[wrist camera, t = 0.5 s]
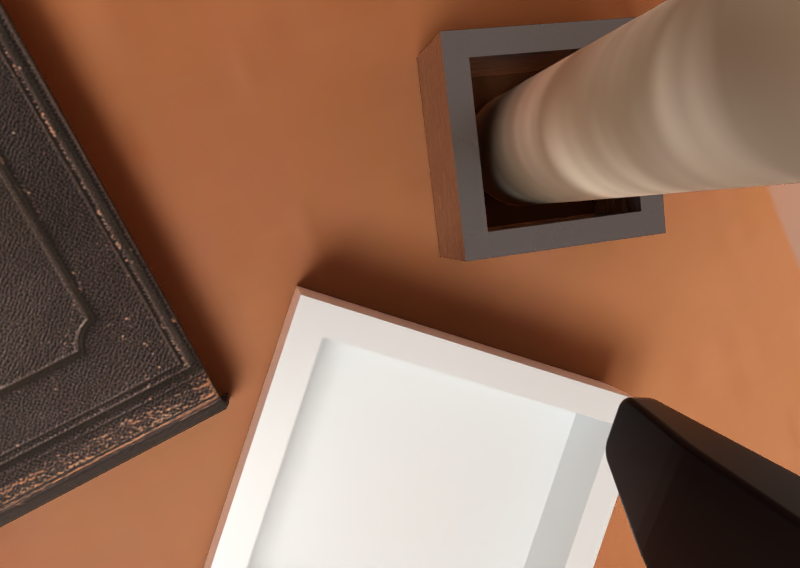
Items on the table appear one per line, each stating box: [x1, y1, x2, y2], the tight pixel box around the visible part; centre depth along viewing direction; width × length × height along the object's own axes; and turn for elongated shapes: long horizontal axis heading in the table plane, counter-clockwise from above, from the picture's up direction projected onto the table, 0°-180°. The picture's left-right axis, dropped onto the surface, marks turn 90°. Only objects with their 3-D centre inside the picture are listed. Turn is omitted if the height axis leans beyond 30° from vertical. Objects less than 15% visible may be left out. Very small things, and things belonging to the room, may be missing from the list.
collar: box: [417, 17, 666, 261], centre depth 21 cm, size 7×7×3 cm
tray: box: [203, 285, 634, 568], centre depth 22 cm, size 12×12×3 cm
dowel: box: [475, 0, 800, 206], centre depth 17 cm, size 4×4×13 cm
